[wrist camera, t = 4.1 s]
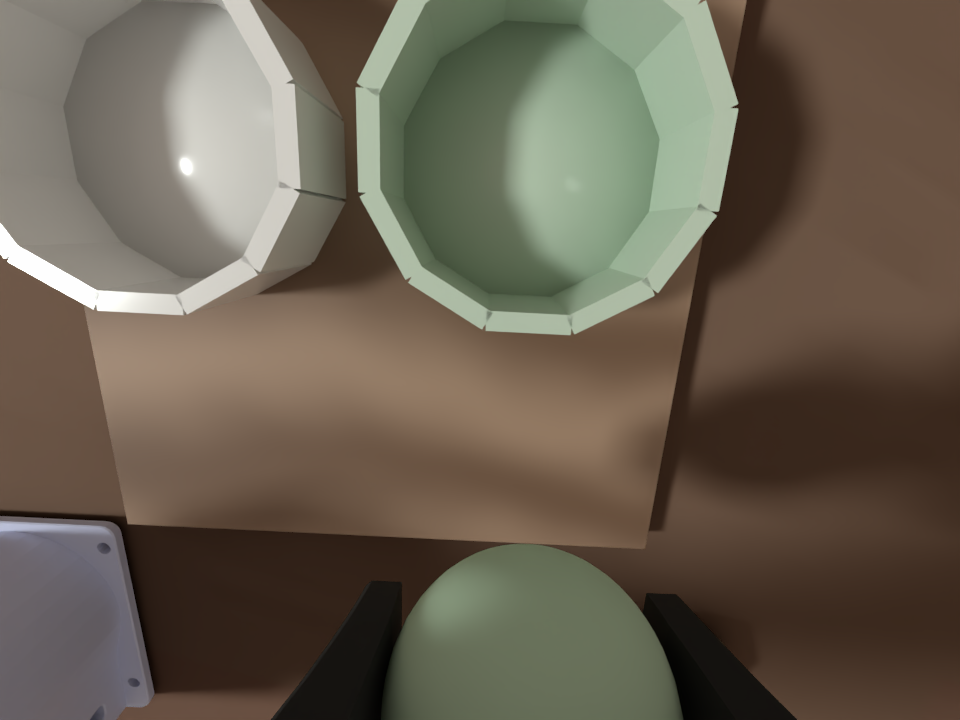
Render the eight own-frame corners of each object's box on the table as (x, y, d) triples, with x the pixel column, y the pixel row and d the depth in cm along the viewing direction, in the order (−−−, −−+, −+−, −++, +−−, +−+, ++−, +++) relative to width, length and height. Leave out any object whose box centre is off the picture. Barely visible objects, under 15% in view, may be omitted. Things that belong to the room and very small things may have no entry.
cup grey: (349, 299, 14) (308, 321, 11) (92, 286, 14) (-29, 304, 11) (339, -4, 12) (283, -96, 9) (32, -22, 12) (-144, -120, 9)
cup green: (644, 315, 14) (693, 341, 11) (389, 302, 14) (361, 324, 11) (691, 16, 12) (772, -67, 9) (388, -2, 12) (351, -91, 9)
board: (636, 531, 18) (645, 549, 17) (146, 508, 18) (127, 524, 17) (730, -3, 13) (750, -21, 12) (45, -42, 13) (9, -64, 12)
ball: (611, 676, 11) (712, 1027, 6) (406, 667, 11) (346, 1014, 6) (642, 497, 9) (806, 772, 5) (407, 486, 9) (331, 751, 5)
